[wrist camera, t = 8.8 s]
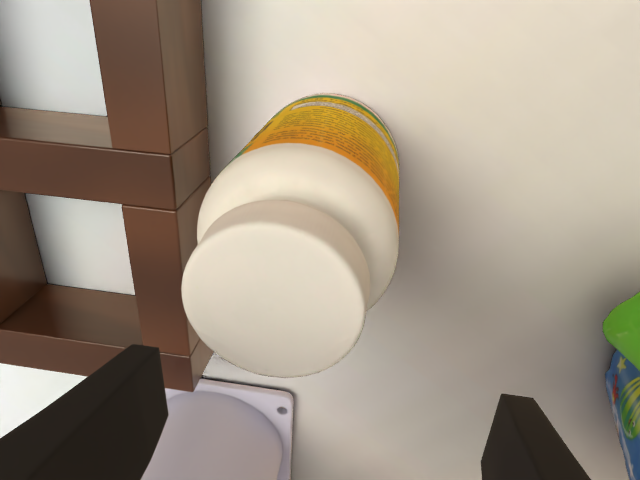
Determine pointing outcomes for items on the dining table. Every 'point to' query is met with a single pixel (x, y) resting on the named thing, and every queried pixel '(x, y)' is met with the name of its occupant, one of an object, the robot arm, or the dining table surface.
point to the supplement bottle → (297, 239)
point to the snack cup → (625, 379)
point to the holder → (113, 197)
